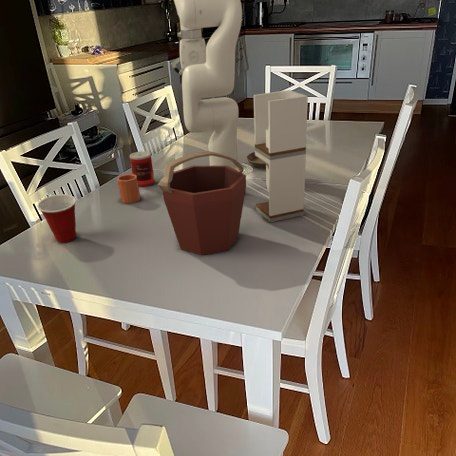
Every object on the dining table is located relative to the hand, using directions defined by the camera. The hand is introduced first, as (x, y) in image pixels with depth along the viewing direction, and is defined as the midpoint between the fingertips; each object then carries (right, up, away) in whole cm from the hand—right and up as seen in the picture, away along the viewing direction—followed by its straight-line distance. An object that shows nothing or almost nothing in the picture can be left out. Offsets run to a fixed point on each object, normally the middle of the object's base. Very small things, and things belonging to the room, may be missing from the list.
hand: (195, 84), depth 185 cm
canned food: (-19, -39, -5) cm, 44 cm away
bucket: (+6, -65, -47) cm, 81 cm away
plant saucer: (+29, -29, +7) cm, 41 cm away
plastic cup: (-36, -64, -42) cm, 85 cm away
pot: (-22, -48, -18) cm, 55 cm away
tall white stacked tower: (+29, -55, -34) cm, 71 cm away
